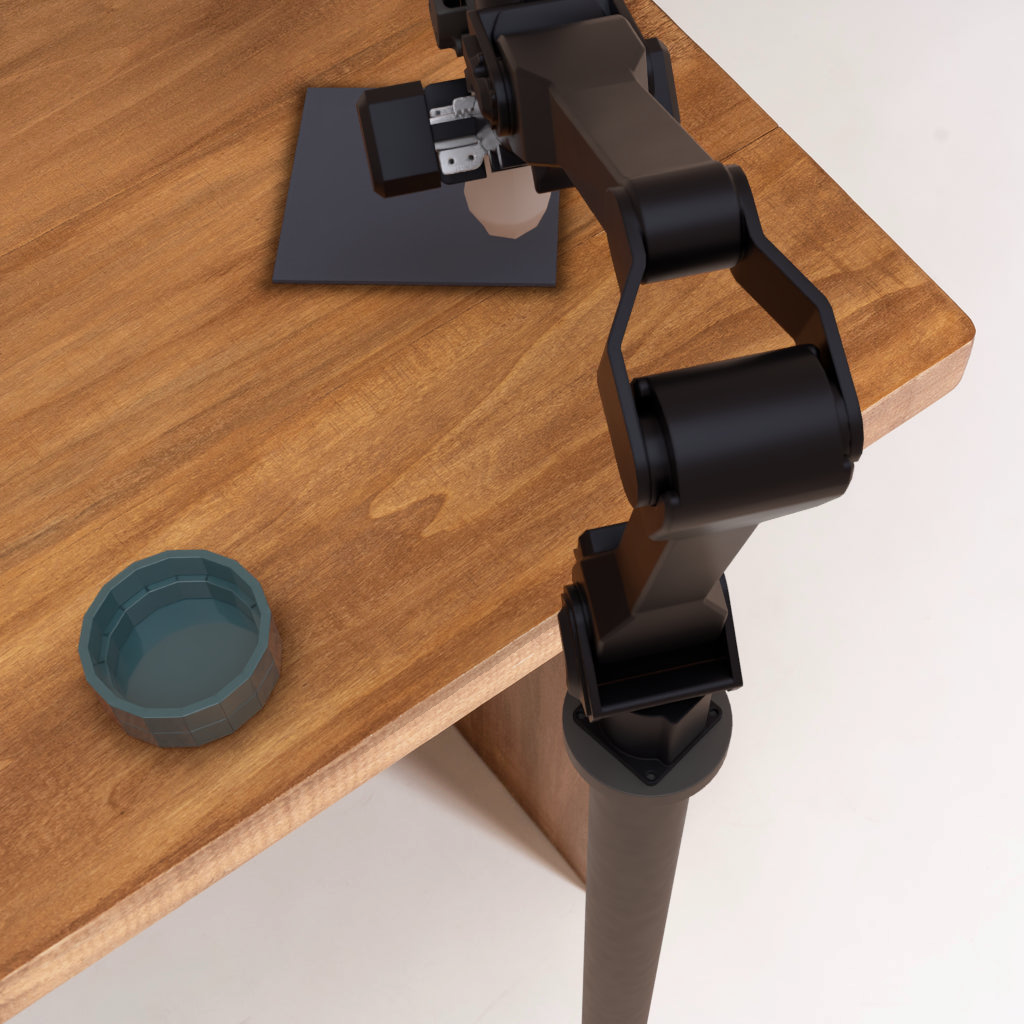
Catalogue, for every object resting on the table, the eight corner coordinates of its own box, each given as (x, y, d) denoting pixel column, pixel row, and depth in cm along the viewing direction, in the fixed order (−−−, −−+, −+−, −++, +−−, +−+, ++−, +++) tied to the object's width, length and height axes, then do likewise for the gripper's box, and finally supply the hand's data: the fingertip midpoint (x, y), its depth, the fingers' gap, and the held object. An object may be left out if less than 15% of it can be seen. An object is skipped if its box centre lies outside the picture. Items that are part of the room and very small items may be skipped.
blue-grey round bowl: (320, 663, 85) (308, 627, 81) (176, 787, 81) (157, 755, 77) (206, 556, 89) (190, 517, 86) (64, 668, 85) (41, 633, 82)
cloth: (563, 92, 111) (563, 88, 111) (555, 287, 100) (555, 283, 100) (307, 91, 112) (307, 87, 112) (272, 283, 102) (271, 279, 101)
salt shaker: (540, 254, 96) (536, 100, 85) (457, 241, 97) (443, 87, 86) (559, 193, 99) (557, 37, 89) (479, 182, 100) (468, 26, 89)
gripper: (678, -78, 78) (618, -24, 93) (338, -18, 76) (334, 27, 91) (711, 132, 80) (647, 151, 95) (381, 195, 78) (370, 204, 93)
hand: (501, 129), depth 93 cm, fingers closed on salt shaker, 3 cm apart
